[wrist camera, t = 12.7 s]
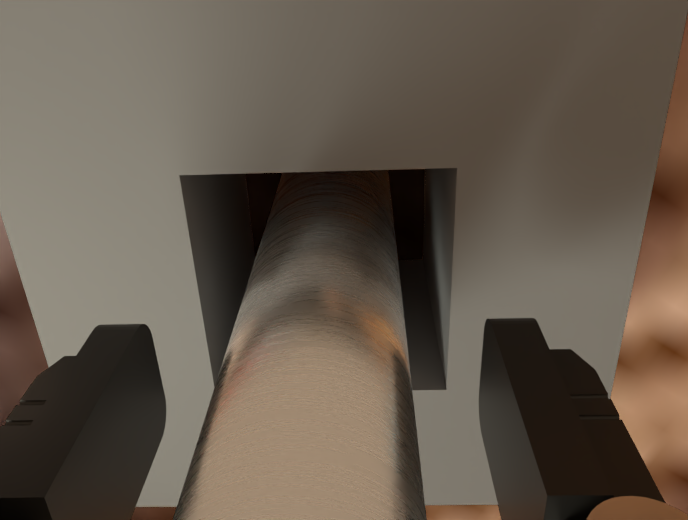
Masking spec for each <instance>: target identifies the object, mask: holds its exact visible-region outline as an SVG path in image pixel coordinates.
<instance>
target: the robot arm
mask: <svg viewBox="0 0 688 520" xmlns="http://www.w3.org/2000/svg"><path fill="white" fill-rule="evenodd" d="M479 420H480V428H481V434H482V438H483V443H484V447H485V451H486V456H487V460H488V464H489V468H490V473H491V477H492V481H493V485H494V490H495V494H496V498H497V502H498V507H499V511H500V515H501V519H502V520H688V515H687V514H686V513H684V512H682V511H681V510H679V509H677V508H675V507H673V506H671V505H668V504H666V503H665V501H664V499H663V498H662V496H661V494H660V492H659V490H658V488H657V486H656V484H655V482H654V480H653V478H652V477H651V475H650V473H649V471H648V469H647V467H646V465H645V463H644V461H643V459H642V458H641V456H640V454H639V452H638V450H637V448H636V446H635V444H634V442H633V440H632V438H631V437H630V435H629V433H628V431H627V429H626V427H625V425H624V423H623V421H622V420H619V414H618V412H617V410H616V408H615V406H614V404H613V402H612V400H611V399H609V398H608V393H607V391H606V389H605V387H604V385H603V383H602V381H601V379H600V377H599V376H598V374H597V372H596V370H595V369H594V368H593V367H592V366H591V365H589V364H588V363H587V362H586V361H585V360H583V359H582V358H581V357H580V356H579V355H577V354H576V353H575V352H574V351H573V350H571V349H549V347H548V345H547V342H546V340H545V338H544V336H543V333H542V331H541V329H540V327H539V324H538V322H537V320H536V319H535V318H496V319H487V320H486V322H485V326H484V335H483V347H482V360H481V373H480V386H479ZM5 421H6V424H5V426H1V427H0V520H131V517H132V515H133V512H134V509H135V507H136V504H137V502H138V499H139V497H140V494H141V491H142V489H143V486H144V484H145V481H146V478H147V476H148V473H149V471H150V468H151V466H152V463H153V460H154V458H155V455H156V453H157V450H158V448H159V445H160V442H161V440H162V437H163V434H164V429H165V423H166V399H165V393H164V389H163V384H162V379H161V375H160V370H159V365H158V361H157V356H156V351H155V346H154V342H153V337H152V333H151V331H150V329H149V327H148V326H147V325H146V324H105V325H98V326H96V327H95V328H94V330H93V331H92V332H91V334H90V335H89V337H88V338H87V340H86V342H85V343H84V345H83V346H82V348H81V349H80V351H79V352H78V354H77V355H76V356H64V357H62V358H61V359H60V360H58V361H57V362H56V363H54V364H53V365H52V366H50V367H49V368H48V369H46V370H45V371H44V372H42V373H41V374H40V375H38V376H37V377H36V379H35V380H34V381H33V383H32V384H31V386H30V387H29V388H28V390H27V391H26V393H25V394H24V395H23V397H22V398H21V400H20V405H16V407H15V408H14V409H13V411H12V412H11V413H10V415H9V416H8V418H7V419H6V420H5Z"/></svg>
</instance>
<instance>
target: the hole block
mask: <svg viewBox="0 0 688 520" xmlns="http://www.w3.org/2000/svg"><path fill="white" fill-rule="evenodd" d="M687 13H688V0H0V213H1V217H2V220H3V223H4V226H5V229H6V233H7V236H8V239H9V242H10V245H11V249H12V252H13V255H14V258H15V261H16V265H17V268H18V271H19V274H20V277H21V281H22V284H23V287H24V290H25V293H26V297H27V300H28V303H29V306H30V309H31V313H32V316H33V319H34V322H35V325H36V329H37V332H38V335H39V338H40V341H41V345H42V348H43V351H44V354H45V357H46V361H47V364H48V367H50V366H52V365H53V364H54V363H56V362H57V361H58V360H60V359H61V358H62V357H64V356H76V355H77V354H78V352H79V351H80V349H81V348H82V346H83V345H84V343H85V342H86V340H87V338H88V337H89V335H90V334H91V332H92V331H93V330H94V328H95V327H96V326H98V325H105V324H146V325H147V326H148V327H149V329H150V331H151V333H152V337H153V342H154V346H155V351H156V356H157V361H158V365H159V370H160V375H161V379H162V384H163V389H164V393H165V399H166V423H165V429H164V434H163V437H162V440H161V442H160V445H159V448H158V450H157V453H156V455H155V458H154V460H153V463H152V466H151V468H150V471H149V473H148V476H147V478H146V481H145V484H144V486H143V489H142V491H141V494H140V497H139V499H138V502H137V504H136V507H177V505H178V502H179V498H180V495H181V492H182V489H183V486H184V483H185V479H186V476H187V473H188V470H189V467H190V464H191V460H192V457H193V454H194V451H195V448H196V445H197V441H198V438H199V435H200V432H201V429H202V426H203V423H204V419H205V416H206V413H207V410H208V407H209V404H210V400H211V397H212V394H213V391H214V388H215V385H216V381H217V378H218V375H219V372H220V369H221V366H222V363H223V359H224V356H225V353H226V350H227V347H228V344H229V340H230V337H231V334H232V331H233V328H234V325H235V321H236V318H237V315H238V312H239V309H240V306H241V303H242V299H243V296H244V293H245V290H246V287H247V284H248V280H249V277H250V274H251V271H252V268H253V265H254V261H255V252H254V243H253V235H252V226H251V217H250V208H249V200H248V191H247V182H246V174H247V173H285V172H323V171H361V170H399V169H425V185H424V228H423V260H398V264H399V274H400V283H401V292H402V301H403V310H404V319H405V328H406V337H407V346H408V355H409V364H410V373H411V383H412V392H413V401H414V410H415V419H416V428H417V437H418V446H419V455H420V464H421V473H422V483H423V492H424V501H425V505H498V502H497V498H496V494H495V490H494V485H493V481H492V477H491V473H490V468H489V464H488V460H487V456H486V451H485V447H484V443H483V438H482V434H481V428H480V420H479V386H480V373H481V360H482V347H483V335H484V326H485V322H486V320H487V319H496V318H535V319H536V320H537V322H538V324H539V327H540V329H541V331H542V333H543V336H544V338H545V340H546V342H547V345H548V347H549V349H571V350H573V351H574V352H575V353H576V354H577V355H579V356H580V357H581V358H582V359H583V360H585V361H586V362H587V363H588V364H589V365H591V366H592V367H593V368H594V369H595V370H596V372H597V374H598V376H599V377H600V379H601V381H602V383H603V385H604V387H605V389H606V391H607V393H608V398H609V399H610V396H611V391H612V386H613V381H614V376H615V372H616V367H617V362H618V357H619V352H620V347H621V342H622V337H623V332H624V327H625V322H626V317H627V312H628V307H629V302H630V297H631V292H632V287H633V282H634V277H635V272H636V267H637V262H638V257H639V252H640V247H641V242H642V237H643V232H644V227H645V222H646V217H647V212H648V207H649V202H650V197H651V192H652V187H653V183H654V178H655V173H656V168H657V163H658V158H659V153H660V148H661V143H662V138H663V133H664V128H665V123H666V118H667V113H668V108H669V103H670V98H671V93H672V88H673V83H674V78H675V73H676V68H677V63H678V58H679V53H680V48H681V43H682V38H683V33H684V28H685V23H686V18H687Z"/></svg>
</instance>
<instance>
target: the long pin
mask: <svg viewBox="0 0 688 520" xmlns="http://www.w3.org/2000/svg"><path fill="white" fill-rule="evenodd" d="M173 520H427V519H426V510H425V501H424V492H423V483H422V473H421V464H420V455H419V446H418V437H417V428H416V419H415V410H414V401H413V392H412V383H411V373H410V364H409V355H408V346H407V337H406V328H405V319H404V310H403V301H402V292H401V283H400V274H399V264H398V255H397V246H396V237H395V228H394V219H393V210H392V201H391V192H390V183H389V174H388V170H361V171H323V172H285V173H282V176H281V179H280V182H279V186H278V189H277V192H276V195H275V198H274V201H273V205H272V208H271V211H270V214H269V217H268V220H267V224H266V227H265V230H264V233H263V236H262V239H261V243H260V246H259V249H258V252H257V255H256V258H255V261H254V265H253V268H252V271H251V274H250V277H249V280H248V284H247V287H246V290H245V293H244V296H243V299H242V303H241V306H240V309H239V312H238V315H237V318H236V321H235V325H234V328H233V331H232V334H231V337H230V340H229V344H228V347H227V350H226V353H225V356H224V359H223V363H222V366H221V369H220V372H219V375H218V378H217V381H216V385H215V388H214V391H213V394H212V397H211V400H210V404H209V407H208V410H207V413H206V416H205V419H204V423H203V426H202V429H201V432H200V435H199V438H198V441H197V445H196V448H195V451H194V454H193V457H192V460H191V464H190V467H189V470H188V473H187V476H186V479H185V483H184V486H183V489H182V492H181V495H180V498H179V502H178V505H177V508H176V511H175V514H174V517H173Z"/></svg>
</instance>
